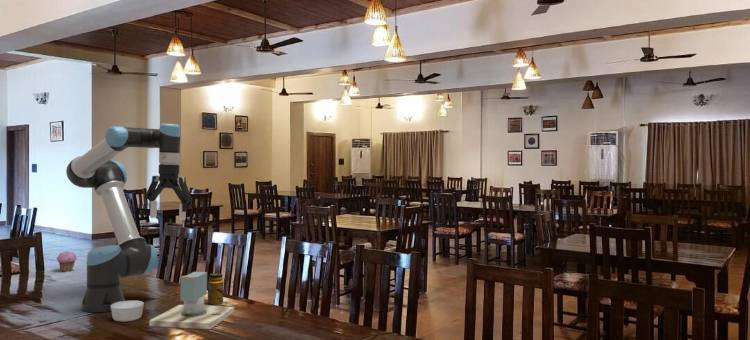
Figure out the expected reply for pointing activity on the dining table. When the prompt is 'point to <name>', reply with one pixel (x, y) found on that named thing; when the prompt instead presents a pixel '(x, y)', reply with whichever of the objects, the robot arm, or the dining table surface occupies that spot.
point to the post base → (192, 317)
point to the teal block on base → (193, 292)
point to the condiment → (215, 290)
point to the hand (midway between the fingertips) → (167, 218)
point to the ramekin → (127, 310)
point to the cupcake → (66, 261)
